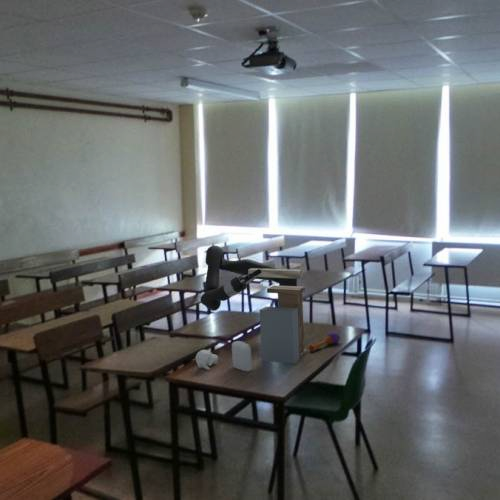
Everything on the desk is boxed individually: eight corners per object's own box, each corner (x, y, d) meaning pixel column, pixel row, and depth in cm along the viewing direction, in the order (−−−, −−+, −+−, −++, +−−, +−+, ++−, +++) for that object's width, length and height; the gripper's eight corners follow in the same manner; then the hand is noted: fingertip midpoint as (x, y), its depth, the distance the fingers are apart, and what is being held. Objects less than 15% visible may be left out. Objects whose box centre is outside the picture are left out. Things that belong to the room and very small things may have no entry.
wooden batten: (251, 275, 272) (251, 268, 271) (302, 277, 260) (302, 269, 260) (248, 276, 268) (248, 269, 268) (299, 278, 257) (299, 271, 257)
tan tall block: (276, 349, 274) (273, 285, 270) (307, 352, 267) (304, 286, 263) (269, 354, 267) (266, 288, 263) (301, 357, 260) (299, 290, 256)
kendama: (305, 342, 270) (331, 330, 284) (308, 354, 270) (333, 341, 284) (314, 342, 266) (340, 330, 279) (317, 354, 266) (343, 341, 279)
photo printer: (231, 367, 251) (230, 340, 250) (238, 364, 254) (237, 338, 252) (245, 372, 243) (244, 345, 242) (253, 370, 246) (252, 343, 245)
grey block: (267, 356, 265) (265, 306, 261) (299, 359, 258) (297, 308, 255) (261, 360, 258) (259, 309, 255) (294, 364, 251) (292, 311, 248)
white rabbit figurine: (194, 350, 250) (211, 345, 260) (194, 369, 250) (211, 363, 260) (204, 352, 246) (221, 347, 256) (204, 371, 247) (221, 365, 256)
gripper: (245, 290, 280) (271, 274, 273) (232, 296, 268) (260, 279, 260) (237, 277, 281) (264, 260, 273) (224, 282, 268) (252, 265, 261)
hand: (262, 270), depth 267 cm, fingers closed on wooden batten, 3 cm apart
